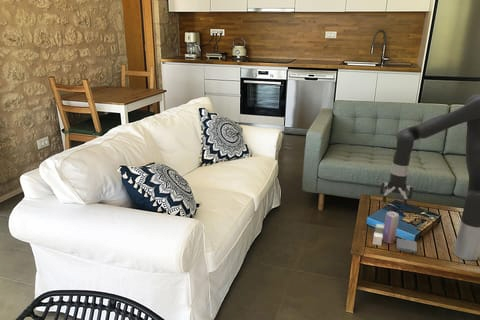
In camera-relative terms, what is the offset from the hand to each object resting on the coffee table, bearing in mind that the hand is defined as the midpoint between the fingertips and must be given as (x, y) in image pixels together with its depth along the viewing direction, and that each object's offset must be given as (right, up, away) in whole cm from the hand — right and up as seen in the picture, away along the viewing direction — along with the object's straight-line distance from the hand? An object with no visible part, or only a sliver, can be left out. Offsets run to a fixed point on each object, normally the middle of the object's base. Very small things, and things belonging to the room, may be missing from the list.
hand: (393, 203), depth 188 cm
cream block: (-7, -20, +4) cm, 21 cm away
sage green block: (-3, -17, +13) cm, 22 cm away
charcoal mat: (+7, -21, +2) cm, 22 cm away
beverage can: (0, -19, +7) cm, 21 cm away
